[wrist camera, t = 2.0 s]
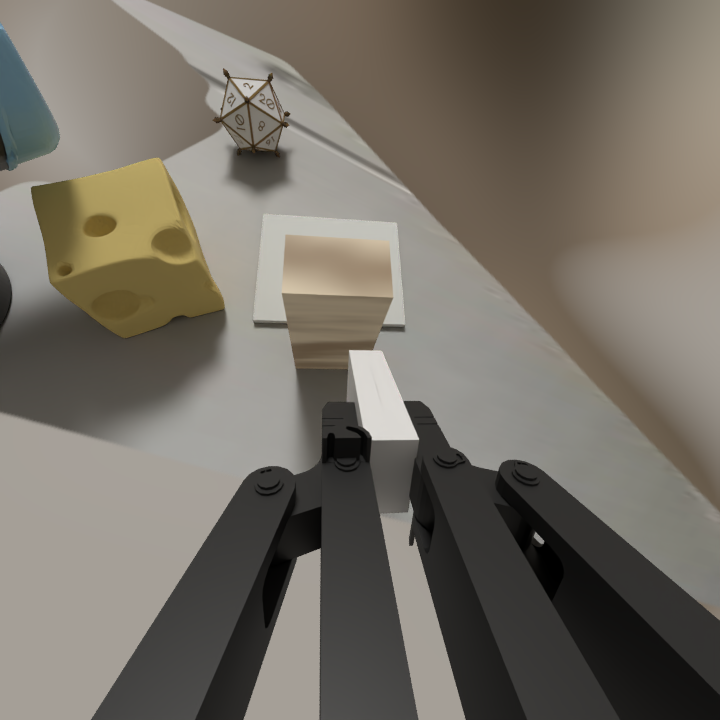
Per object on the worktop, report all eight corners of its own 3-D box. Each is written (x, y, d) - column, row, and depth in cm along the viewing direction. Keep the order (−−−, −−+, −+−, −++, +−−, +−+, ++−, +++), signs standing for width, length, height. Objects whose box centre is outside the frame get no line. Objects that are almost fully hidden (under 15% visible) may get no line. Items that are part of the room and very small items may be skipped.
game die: (272, 165, 48) (307, 93, 42) (268, 189, 42) (307, 110, 36) (208, 122, 43) (237, 35, 38) (193, 143, 38) (226, 44, 32)
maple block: (364, 369, 34) (393, 297, 21) (295, 368, 33) (281, 293, 20) (363, 330, 36) (389, 240, 23) (297, 328, 35) (285, 234, 22)
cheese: (228, 310, 35) (196, 245, 26) (117, 345, 32) (36, 288, 23) (200, 234, 38) (161, 152, 29) (96, 261, 35) (16, 180, 26)
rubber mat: (403, 327, 36) (405, 324, 36) (253, 322, 35) (252, 319, 34) (395, 226, 41) (396, 222, 41) (264, 217, 40) (263, 213, 39)
